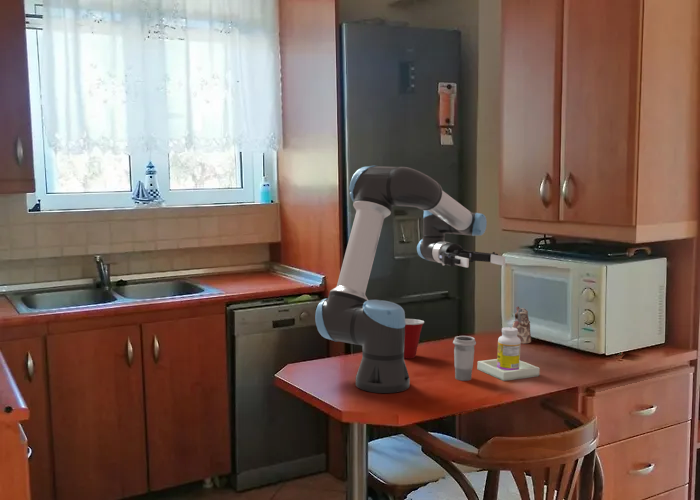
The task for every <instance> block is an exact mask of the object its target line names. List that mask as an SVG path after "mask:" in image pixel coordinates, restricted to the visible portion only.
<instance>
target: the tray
mask: <svg viewBox="0 0 700 500" xmlns="http://www.w3.org/2000/svg"><path fill="white" fill-rule="evenodd" d="M476 369H477V370H478V371H480V372H482V373H485V374H487V375H489V376H491V377H494V378H496V379H498V380H501V381H503V382H507V381H512V380H520V379H527V378H535V377H540V367H538V366H535V365H533V364H530V363H529V362H525V361H523V360H520V365H519V369H518V370H511V371H503V370H500V369H498V368H497V358H493V359H486V360H478V361H477V367H476Z"/></svg>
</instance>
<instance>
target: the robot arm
mask: <svg viewBox="0 0 700 500" xmlns="http://www.w3.org/2000/svg"><path fill="white" fill-rule="evenodd" d="M348 189H349V191H350V192H349V197H350V199H351V202H353V204H352V206H353V208H354V210H355V216H354V219H353V223H352V227H351V231H350V234H349V238H348V242H347V246H346V249H345V253H344V257H343V261H342V264H341V269H340V273H339V276H338V279H337V284H336V286H335V287H334V288H332V289H331V290H329V293H328V297H327V298H323V299H321V300H320V302H319V303H318V305H317V306H316V308H315V309H316V310H315V314H314V315H315V317H314V318H315V321H314V322H315V326H316V328H317V331H318V333H319V334H320V335H321V337H323V338H324V339H327V340H329V341H330V340H331V341H334V342H335V343H337V342H341V343H346V344H352V345H357V346H361V347H362V353H361V354H362V357H361V360H360V363H359V367H358V369H357V372H356V375H355V386H356V388H358V389H360V390H362V391H365V392H368V393H378V394H393V393H401V392H404V391H407V390H408V389H409V388H410V382H411V381H410V380H411V379H410V375H409V372H408V369H407V365H406V361H405V358H404V341H405V325H406V322H405V319H406V314H405V313H406V312H405V309H404V308H403V307H402V306H401V304H398V303H396V302H393V301H388V300H384V299H383V300H381V299H368V297H367V296H366V291H367V288H368V284H369V279H370V275H371V272H372V269H373V264H374V259H375V257H376V252H377V247H378V244H379V240H380V236H381V233H382V228H383V224H384V221H385V219H386V218H388V217H389V216H390V215H391V213H392V209H393V208H394V207H408V208H409V207H410V208H416V209H419V210H421V211H423V214H422V215H423V217H422V220H423V221H422V222H423V223H422V239H420V241H418V243H417V246H416V251H417V255H418V257H420V258H422V259H424V260H425V261H428V262H434V263H438V264H441V265H442V266H445V265H446V266H449V267H457V266H459V267H463V268H469V266H470V265H469V263H472V262H474V261H475V262H486V263H490V264H494V265H499V266H503V267H504V266H506V256H502V255H499V254H498V253H496V252H495V251H493V252H481V251H475V250H467V249H464V248H463V247H462V246H461V245H460V244H458V243H454V242H449V241H445V237H446V234H448V235H449V234H450V235H451V234H452V235H464V236H472V237H475V236H476V237H477V236H479V237H481V236H483V235H484V234H485V232H486V231H487V230H486V229H487V223H488V221H487V217H486V216H485V214H483V213H480V212H472V211H470V210H469V209H467V208H466V207H465V206H463V205H462V204H461V203H460V202H458V201H457V200H456V199H454V198H453V197H451V196H450V194H448V193H447V192H445V191H444V190H443V188H442V186H441V184H440V183H438V181H436V180H435V179H433V178H432V177H431V176H429V175H427V174H425V173H424V172H422V171H419V170H417V169H414V168H412V167H407V166H383V165H381V166H379V165H369V166H362V167H360V168H358V169H357V170H356V171H355V172H354V173H353V174H352V177H351V180H350V182H349V187H348Z"/></svg>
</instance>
